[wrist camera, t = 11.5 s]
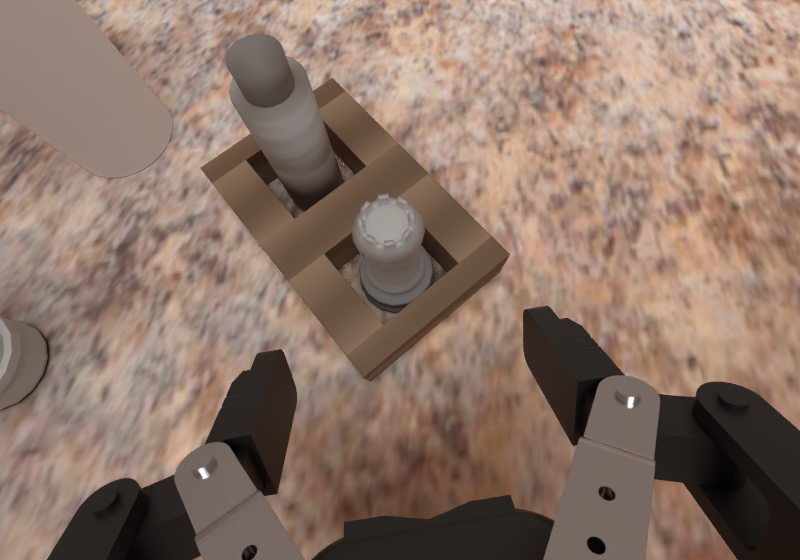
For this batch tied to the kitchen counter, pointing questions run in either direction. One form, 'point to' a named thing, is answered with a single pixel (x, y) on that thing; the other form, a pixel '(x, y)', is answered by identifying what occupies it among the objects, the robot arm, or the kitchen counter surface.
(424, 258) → the rook chess piece
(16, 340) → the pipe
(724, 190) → the kitchen counter surface
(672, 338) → the kitchen counter surface
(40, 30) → the cylindrical container
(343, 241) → the holder
